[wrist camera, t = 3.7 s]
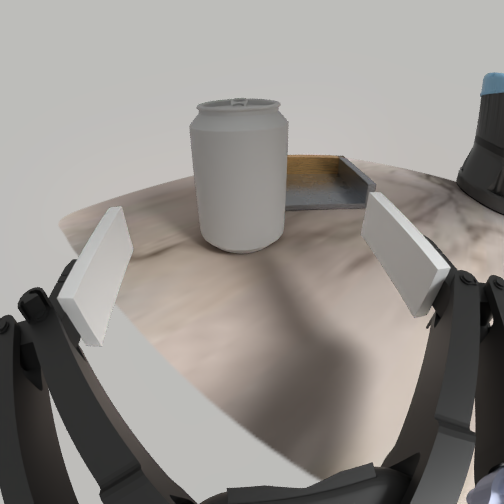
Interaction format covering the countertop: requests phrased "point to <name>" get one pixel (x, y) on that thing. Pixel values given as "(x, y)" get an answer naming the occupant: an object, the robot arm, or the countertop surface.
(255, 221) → the can
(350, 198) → the open rectangular tray
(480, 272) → the countertop surface
